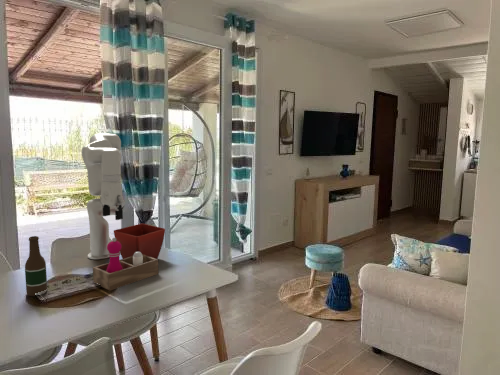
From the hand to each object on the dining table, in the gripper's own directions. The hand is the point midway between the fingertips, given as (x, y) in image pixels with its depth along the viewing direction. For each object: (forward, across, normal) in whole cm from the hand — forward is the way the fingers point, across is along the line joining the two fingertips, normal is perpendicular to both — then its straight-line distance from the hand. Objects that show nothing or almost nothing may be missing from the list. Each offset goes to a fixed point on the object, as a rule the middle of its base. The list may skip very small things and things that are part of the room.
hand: (112, 217), depth 162 cm
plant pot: (+31, -17, +26) cm, 44 cm away
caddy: (+30, +1, +6) cm, 31 cm away
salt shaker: (+29, +1, +12) cm, 31 cm away
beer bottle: (+30, -15, -26) cm, 43 cm away
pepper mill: (+29, 0, 0) cm, 29 cm away
